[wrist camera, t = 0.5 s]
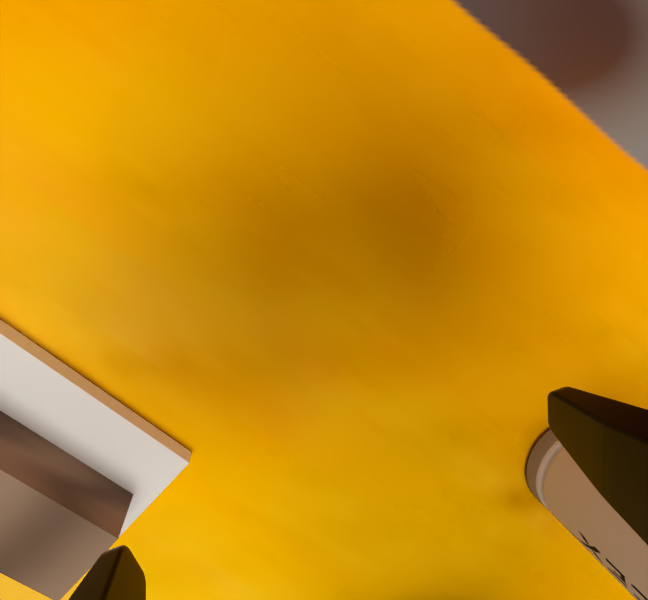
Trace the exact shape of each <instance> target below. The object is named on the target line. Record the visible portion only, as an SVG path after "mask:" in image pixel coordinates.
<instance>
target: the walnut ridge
mask: <svg viewBox="0 0 648 600" xmlns="http://www.w3.org/2000/svg"><path fill="white" fill-rule="evenodd" d="M132 497H133V494H132V493H131V492H129V491H127V490H126V489H124V488H123V487H121V486H119V485H118V484H116V483H115V482H113V481H111V480H110V479H108V478H107V477H105V476H103V475H102V474H100V473H99V472H97V471H96V470H94V469H92V468H91V467H89V466H88V465H86V464H84V463H83V462H81V461H80V460H78V459H76V458H75V457H73V456H72V455H70V454H69V453H67V452H65V451H64V450H62V449H61V448H59V447H57V446H56V445H54V444H53V443H51V442H49V441H48V440H46V439H45V438H43V437H42V436H40V435H38V434H37V433H35V432H34V431H32V430H30V429H29V428H27V427H26V426H24V425H22V424H21V423H19V422H18V421H16V420H14V419H13V418H11V417H10V416H8V415H7V414H5V413H3V412H2V411H0V573H2V574H4V575H6V576H8V577H10V578H12V579H14V580H16V581H18V582H20V583H21V584H23V585H25V586H27V587H29V588H31V589H33V590H35V591H37V592H39V593H41V594H43V595H45V596H47V597H49V598H51V599H53V600H60V599H61V598H62V597H63V596H64V595H65V594H66V593H67V592H68V591H69V590H70V589H71V588H72V587H73V586H74V584H75V583H76V582H77V581H78V580H79V579H80V578H81V577H82V576H83V575H84V574H85V573H86V572H87V571H88V570H89V569H90V568H91V567H92V566H93V565H94V563H95V562H96V561H97V559H98V558H99V557H100V555H101V554H102V553H104V552H105V551H107V550H108V549H109V548H110V547H111V546H112V545H113V543H114V542H115V541H116V540H117V539H118V538H119V535H120V532H121V529H122V526H123V523H124V520H125V517H126V515H127V512H128V509H129V506H130V503H131V500H132Z"/></svg>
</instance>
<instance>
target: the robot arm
mask: <svg viewBox="0 0 648 600" xmlns="http://www.w3.org/2000/svg"><path fill="white" fill-rule="evenodd" d="M548 423H549V427H550V429H551V431H552V433H553V434H554V435H555V437H556V438H557V439H558V441H559V442H560V443H561V444H562V446H563V447H564V448H565V450H566V451H567V452H568V454H569V455H570V456H571V457H572V459H573V460H574V461H575V463H576V464H577V465H578V466H579V468H580V469H581V470H582V472H583V473H584V474H585V476H586V477H587V478H588V479H589V481H590V482H591V483H592V485H593V486H594V487H595V488H596V489H597V491H598V492H599V493H600V494H601V496H602V497H603V498H604V499H605V500H606V501H607V502H608V503H609V504H610V506H611V507H612V508H613V509H614V510H615V511H616V512H617V513H618V514H619V515H620V516H621V517H622V518H623V519H624V521H625V522H626V523H627V524H628V525H629V526H630V527H631V528H632V529H633V530H634V531H635V532H636V533H637V534H638V536H639V537H640V538H641V539H642V540H643V541H644V542H645V543H646V544H647V545H648V410H647V409H643V408H640V407H637V406H633V405H630V404H626V403H623V402H619V401H616V400H613V399H609V398H606V397H602V396H599V395H595V394H592V393H589V392H585V391H582V390H578V389H575V388H571V387H563V388H560V389H557V390H554V391H552V392H550V393H549V395H548ZM69 600H146V581H145V576H144V573H143V571H142V569H141V567H140V566H139V564H138V562H137V561H136V559H135V557H134V556H133V554H132V552H131V551H130V549H129V548H128V547H127V546H125V545H123V546H119V547H116V548H113V549H111V550H108V551H105V552H104V553H102V554H101V555H100V557H99V558H98V559H97V561H96V562H95V563H94V565H93V566H92V568H91V569H90V570H89V572H88V573H87V575H86V576H85V577H84V579H83V580H82V582H81V583H80V584H79V586H78V587H77V589H76V590H75V591H74V593H73V594H72V596H71V597H70V598H69Z"/></svg>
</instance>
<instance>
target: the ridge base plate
mask: <svg viewBox="0 0 648 600" xmlns="http://www.w3.org/2000/svg"><path fill="white" fill-rule="evenodd" d="M0 411H2V412H3V413H5V414H7V415H8V416H10V417H11V418H13V419H14V420H16V421H18V422H19V423H21V424H22V425H24V426H26V427H27V428H29V429H30V430H32V431H34V432H35V433H37V434H38V435H40V436H42V437H43V438H45V439H46V440H48V441H49V442H51V443H53V444H54V445H56V446H57V447H59V448H61V449H62V450H64V451H65V452H67V453H69V454H70V455H72V456H73V457H75V458H76V459H78V460H80V461H81V462H83V463H84V464H86V465H88V466H89V467H91V468H92V469H94V470H96V471H97V472H99V473H100V474H102V475H103V476H105V477H107V478H108V479H110V480H111V481H113V482H115V483H116V484H118V485H119V486H121V487H123V488H124V489H126V490H127V491H129V492H131V493H132V494H133V497H132V500H131V503H130V506H129V509H128V512H127V515H126V517H125V520H124V523H123V526H122V529H121V532H120V535H121V534H122V533H123V532H124V531H125V530H126V529H127V528H128V527H129V526H130V525H131V524H132V523H133V522H134V520H135V519H136V518H137V517H138V516H139V515H140V514H141V513H142V512H143V511H144V510H145V509H146V508H147V507H148V506H149V505H150V504H151V503H152V502H153V501H154V499H155V498H156V497H157V496H158V495H159V494H160V493H161V492H162V491H163V490H164V489H165V488H166V487H167V486H168V485H169V484H170V483H171V482H172V481H173V479H174V478H175V477H176V476H177V475H178V474H179V473H180V472H181V471H182V470H183V469H184V468H185V467H186V466H187V465H188V464H189V462H190V456H191V451H189V450H188V449H186V448H185V447H183V446H182V445H181V444H179V443H178V442H176V441H175V440H173V439H172V438H170V437H169V436H168V435H166V434H165V433H163V432H162V431H160V430H159V429H157V428H156V427H155V426H153V425H152V424H150V423H149V422H147V421H146V420H145V419H143V418H142V417H140V416H139V415H137V414H136V413H134V412H133V411H132V410H130V409H129V408H127V407H126V406H124V405H123V404H122V403H120V402H119V401H117V400H116V399H114V398H113V397H111V396H110V395H109V394H107V393H106V392H104V391H103V390H101V389H100V388H99V387H97V386H96V385H94V384H93V383H91V382H90V381H88V380H87V379H86V378H84V377H83V376H81V375H80V374H78V373H77V372H76V371H74V370H73V369H71V368H70V367H68V366H67V365H65V364H64V363H63V362H61V361H60V360H58V359H57V358H55V357H54V356H52V355H51V354H50V353H48V352H47V351H45V350H44V349H42V348H41V347H40V346H38V345H37V344H35V343H34V342H32V341H31V340H29V339H28V338H27V337H25V336H24V335H22V334H21V333H19V332H18V331H17V330H15V329H14V328H12V327H11V326H9V325H8V324H6V323H5V322H4V321H2V320H1V319H0ZM120 535H119V536H120Z"/></svg>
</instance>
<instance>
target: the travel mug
mask: <svg viewBox="0 0 648 600" xmlns="http://www.w3.org/2000/svg"><path fill="white" fill-rule="evenodd" d="M526 476H527V482H528V486H529V488H530V490H531V492H532V493H533V495H534V496H535V497H536V498H537V499H538V500H539V501H540V502H541V503H542V504H543V505H544V506H545V507H546V508H547V509H548V510H549V511H550V512H551V513H552V514H553V515H554V516H555V517H556V518H557V519H558V520H559V521H560V522H561V524H562V525H563V526H564V527H565V528H566V529H567V530H568V531H569V532H570V533H571V534H572V535H573V536H574V537H575V538H576V539H577V540H578V541H579V542H580V543H581V544H582V545H583V546H584V547H585V548H586V549H587V550H588V551H589V552H590V553H591V554H592V555H593V556H594V557H595V558H596V559H597V560H598V561H599V562H600V563H601V564H602V565H603V566H604V567H605V568H606V569H607V570H608V571H609V572H610V573H611V574H612V575H613V576H614V577H615V578H616V579H617V580H618V581H619V582H620V583H621V584H622V585H623V586H624V587H625V588H626V589H627V590H628V591H629V592H630V593H631V594H632V595H633V596H634V597H635V598H636V600H648V545H647V544H646V543H645V542H644V541H643V540H642V539H641V538H640V537H639V536H638V534H637V533H636V532H635V531H634V530H633V529H632V528H631V527H630V526H629V525H628V524H627V523H626V522H625V521H624V519H623V518H622V517H621V516H620V515H619V514H618V513H617V512H616V511H615V510H614V509H613V508H612V507H611V506H610V504H609V503H608V502H607V501H606V500H605V499H604V498H603V497H602V496H601V494H600V493H599V492H598V491H597V489H596V488H595V487H594V486H593V485H592V483H591V482H590V481H589V479H588V478H587V477H586V476H585V474H584V473H583V472H582V470H581V469H580V468H579V466H578V465H577V464H576V463H575V461H574V460H573V459H572V457H571V456H570V455H569V454H568V452H567V451H566V450H565V448H564V447H563V446H562V444H561V443H560V442H559V441H558V439H557V438H556V437H555V435H554V434H553V433H552V431H551V429H550V430H549V431H547V432H546V433H545V434H544V435H543V436H542V437H541V438H540V439H539V440H538V442H537V443H536V445H535V446H534V448H533V449H532V452H531V454H530V456H529V459H528V463H527V470H526Z"/></svg>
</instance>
